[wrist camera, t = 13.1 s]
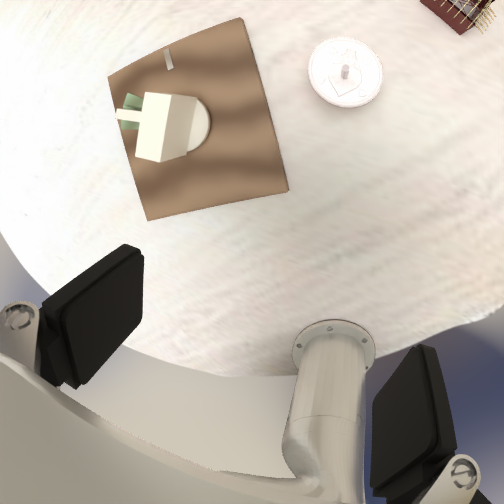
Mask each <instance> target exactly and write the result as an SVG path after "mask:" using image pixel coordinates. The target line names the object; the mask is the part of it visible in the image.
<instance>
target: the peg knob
mask: <svg viewBox="0 0 504 504" xmlns="http://www.w3.org/2000/svg"><path fill="white" fill-rule="evenodd" d="M197 98H198V97H192V96H185V95H178V94H170V93H156V92H145V95H144V100H143V106H142V111H137V110H130V109H122V108H117V111H116V117H115V119H121V120H128V121H134V122H140V125H139V131H138V138H137V145H136V153H135V157H139V158H143V159H147V160H151V161H155V162H164V161H167V160H170V159H174V158H177V157H180V156H184V155H186V154H187V151H191V150H194V149H196V148H197V147H199V146H200V145H201V144H202V143H203V142H204V141H205V139H206V138H207V136H208V133H209V130H210V115H209V112H208V110H207V108H206V106H205V105H204V104H203V103H202V102H201V101H200V100H199V99H197Z"/></svg>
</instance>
